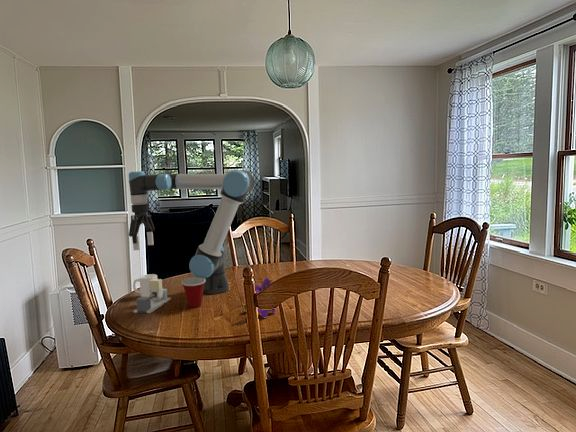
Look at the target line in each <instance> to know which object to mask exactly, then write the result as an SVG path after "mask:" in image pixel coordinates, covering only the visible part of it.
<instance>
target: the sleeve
mask: <svg viewBox="0 0 576 432" xmlns="http://www.w3.org/2000/svg"><path fill="white" fill-rule="evenodd" d="M149 284H150V295H151V294H153V293H155V292H157V296H155V297H154V298H152V299H151V300H160V299H161V298H163V289H164V288H163V279H161V278H157V279H152V280H150V281H149Z"/></svg>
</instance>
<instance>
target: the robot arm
mask: <svg viewBox="0 0 576 432" xmlns="http://www.w3.org/2000/svg"><path fill="white" fill-rule="evenodd" d="M128 184H129V185H128V186H129V192H130V203H131V204H132V205H131V211H132V213H134V214H133V215H130V224H129V229H128V230H129V232H128V236H129V237H130V238H131V239H132V248H133V251H140V240H139V239H140V238H139V236H138V233H139V230H140V228H141V225H142V224H143V226H144V228H145V229H146V231H147V232H146V237H147V246H154V233H153V232H155V231H156V230H155V229H156V228H155V225H154V223H153V220H152V217H151V212H150V211H149V204H148V202H149V201H148V192H150V191H166V190H221V191H220V196H221V200H220V202H219V204H218V207H217V210H216V212H215V214H214V217H213V219H212V221H211V224H210V226H209V229H208V230H207V233H206V237H205V238H204V241H203V243H201V244H199V245H198V247H197V249H196V251H195V254H194V255H193V256H192V257H191V259H190V261H189V264H188V266H189V271H190V273H191V274H192V275H193V276H194V277H201V278H204V279H205V280H206V281H205V283H204V289H203V294H206V295H214V294H215V295H216V294H223V293H225V292H228V291H229V290H230V283H229V281H228V278H227V276H226V263H225V248H224V246H223V244H224V242H225V239H226V237H227V236H228V233H229V231H230V227H231V225H232V222H233V221H234V218H235V216H236V213H237V211H238V208H239V206H240V205H241V204H244V203H245V200H246V197H247V196H248V194H249V193H250V192H252V190H253V189H254V188H255V187H254V186H255V178H254V176H253V175H252V173H250V171H248V170H245V169H234V170H231V171H228V172H227V173H226V174H225V173H158V174H156V173H155V174H149V175H148V174H146V173H145V171H144V170H142V171H131V172H128Z"/></svg>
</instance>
